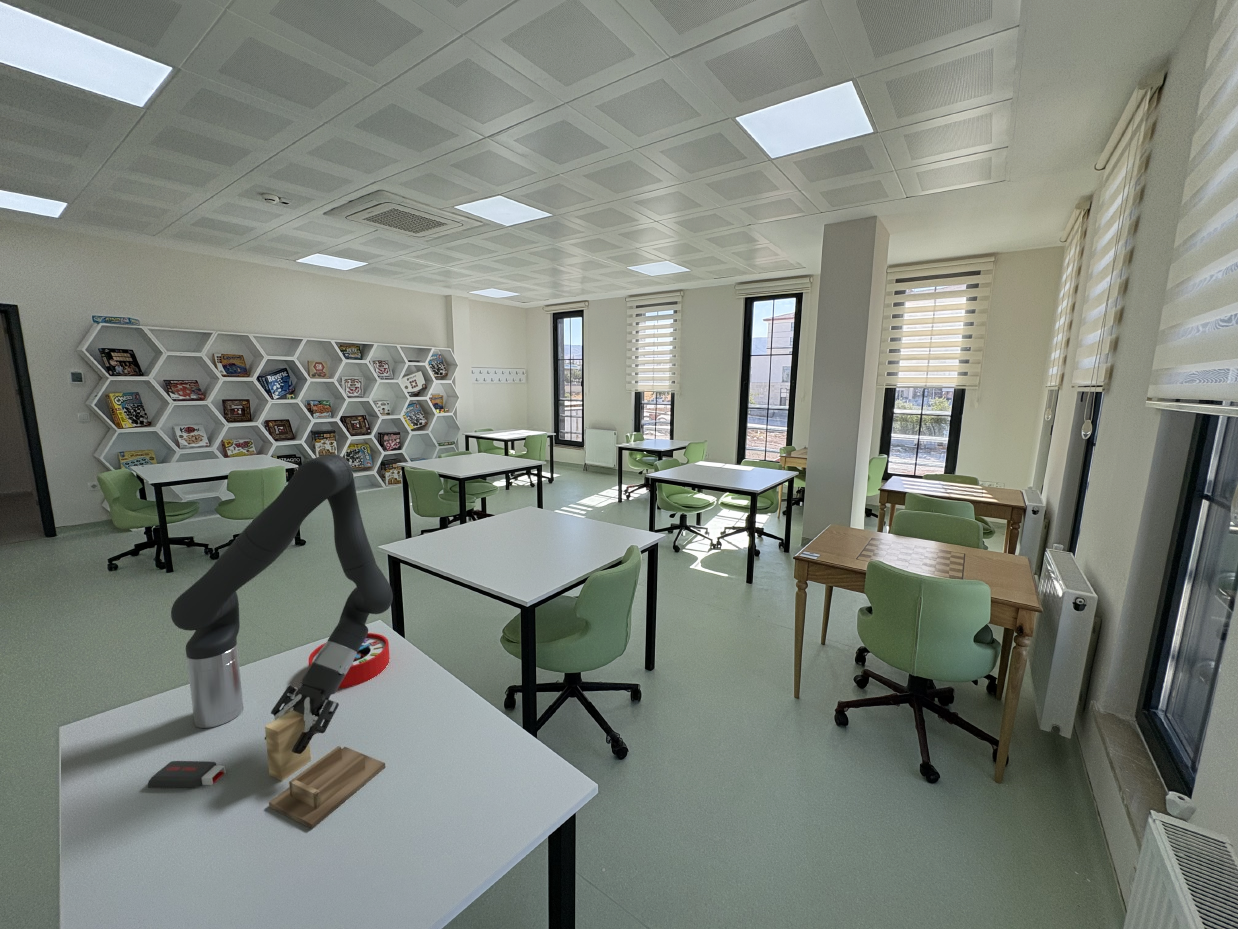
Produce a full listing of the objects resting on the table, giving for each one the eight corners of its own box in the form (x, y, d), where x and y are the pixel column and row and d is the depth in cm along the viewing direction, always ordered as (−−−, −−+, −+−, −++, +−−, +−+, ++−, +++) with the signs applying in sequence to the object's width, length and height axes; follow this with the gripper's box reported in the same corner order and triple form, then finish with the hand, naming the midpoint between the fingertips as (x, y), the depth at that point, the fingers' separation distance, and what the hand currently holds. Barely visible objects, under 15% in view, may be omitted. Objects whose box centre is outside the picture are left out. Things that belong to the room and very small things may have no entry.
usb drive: (172, 769, 101) (170, 757, 101) (229, 770, 101) (228, 758, 100) (148, 789, 96) (146, 777, 95) (208, 791, 96) (206, 778, 95)
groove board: (269, 806, 92) (267, 788, 91) (345, 750, 106) (344, 734, 106) (312, 829, 87) (310, 809, 87) (385, 767, 102) (384, 750, 101)
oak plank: (269, 775, 99) (264, 726, 98) (298, 755, 105) (294, 708, 103) (282, 781, 98) (277, 731, 96) (310, 761, 103) (307, 713, 102)
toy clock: (294, 654, 135) (364, 626, 151) (296, 674, 135) (365, 644, 152) (331, 678, 124) (403, 645, 140) (333, 699, 125) (403, 664, 141)
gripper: (296, 654, 108) (245, 733, 99) (341, 669, 103) (291, 754, 94) (320, 664, 114) (274, 740, 105) (364, 679, 108) (319, 760, 99)
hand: (282, 747), depth 99 cm, fingers open, 8 cm apart
